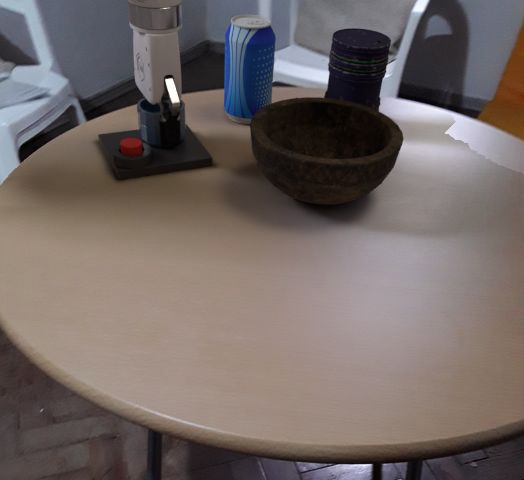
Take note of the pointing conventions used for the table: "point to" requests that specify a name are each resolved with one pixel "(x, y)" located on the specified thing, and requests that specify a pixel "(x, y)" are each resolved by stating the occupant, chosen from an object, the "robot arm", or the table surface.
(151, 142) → the small cup
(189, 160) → the base
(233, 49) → the beer can
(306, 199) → the bowl
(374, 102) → the storage jar
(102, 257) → the table surface
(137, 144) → the button
